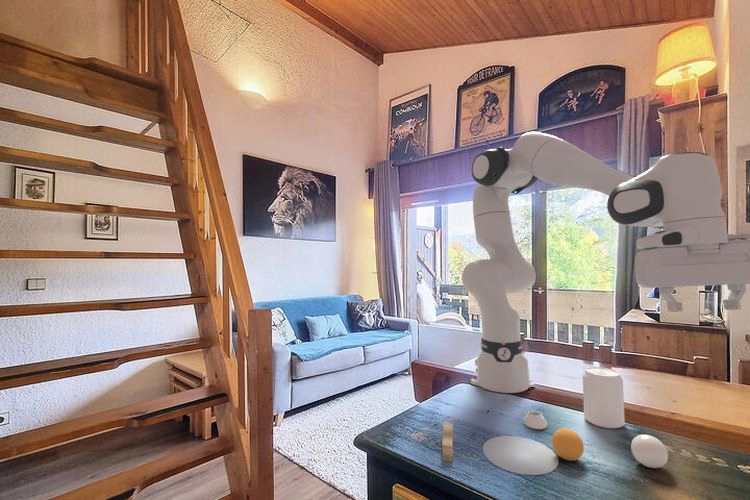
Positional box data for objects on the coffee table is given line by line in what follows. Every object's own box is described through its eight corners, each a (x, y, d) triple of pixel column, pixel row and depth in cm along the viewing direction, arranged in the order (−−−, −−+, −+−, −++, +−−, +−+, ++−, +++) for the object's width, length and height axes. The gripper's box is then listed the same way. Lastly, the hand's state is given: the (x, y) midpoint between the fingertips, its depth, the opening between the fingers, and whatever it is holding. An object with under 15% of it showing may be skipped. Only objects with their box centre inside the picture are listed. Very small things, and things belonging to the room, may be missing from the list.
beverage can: (631, 431, 80) (629, 377, 80) (591, 429, 82) (589, 376, 82) (615, 416, 88) (613, 366, 88) (579, 413, 90) (577, 365, 90)
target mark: (480, 434, 80) (480, 433, 80) (547, 439, 77) (547, 438, 77) (486, 470, 67) (486, 469, 67) (568, 479, 64) (568, 477, 64)
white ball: (626, 456, 70) (625, 428, 71) (658, 459, 69) (656, 430, 69) (640, 472, 65) (639, 442, 65) (675, 476, 64) (674, 444, 64)
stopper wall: (443, 435, 80) (443, 422, 80) (452, 436, 80) (452, 422, 80) (442, 460, 70) (442, 445, 70) (453, 461, 70) (452, 446, 70)
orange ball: (549, 449, 73) (548, 422, 74) (578, 452, 72) (577, 424, 72) (556, 465, 68) (555, 435, 68) (588, 468, 67) (587, 438, 67)
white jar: (524, 419, 88) (522, 428, 83) (524, 407, 88) (522, 415, 83) (547, 423, 85) (546, 432, 81) (547, 410, 86) (546, 419, 81)
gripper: (742, 234, 69) (752, 307, 68) (627, 241, 72) (634, 310, 71) (774, 230, 63) (785, 310, 62) (646, 238, 66) (654, 314, 65)
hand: (703, 310), depth 66 cm, fingers open, 8 cm apart
